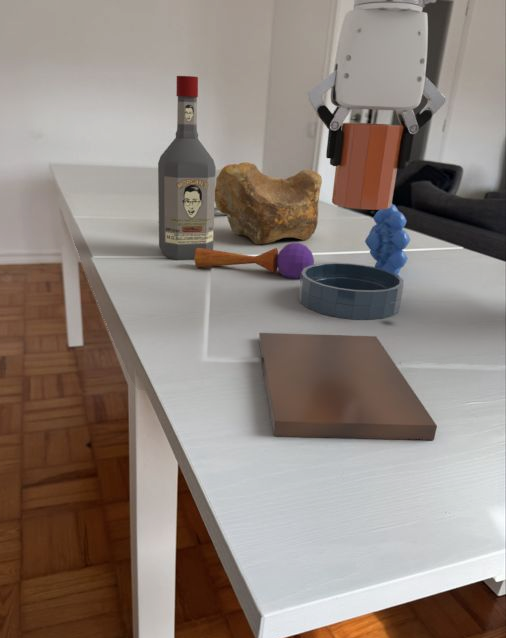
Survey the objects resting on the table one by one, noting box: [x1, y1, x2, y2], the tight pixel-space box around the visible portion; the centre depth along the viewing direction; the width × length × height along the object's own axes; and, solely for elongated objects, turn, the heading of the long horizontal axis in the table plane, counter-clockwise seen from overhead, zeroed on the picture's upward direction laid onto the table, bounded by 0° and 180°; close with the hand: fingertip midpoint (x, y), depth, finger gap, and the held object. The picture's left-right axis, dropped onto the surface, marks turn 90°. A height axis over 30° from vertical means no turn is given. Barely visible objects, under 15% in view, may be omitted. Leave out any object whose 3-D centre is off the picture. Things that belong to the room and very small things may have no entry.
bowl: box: [298, 262, 405, 321], centre depth 79 cm, size 14×14×4 cm
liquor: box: [157, 75, 217, 261], centre depth 97 cm, size 9×9×30 cm
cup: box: [331, 122, 404, 211], centre depth 68 cm, size 7×7×10 cm
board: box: [258, 332, 438, 441], centre depth 56 cm, size 14×20×2 cm
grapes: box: [364, 203, 411, 275], centre depth 93 cm, size 12×7×12 cm, turn 11°
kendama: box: [194, 242, 315, 280], centre depth 92 cm, size 6×6×20 cm
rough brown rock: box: [215, 162, 323, 245], centre depth 115 cm, size 23×17×15 cm
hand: (366, 165), depth 68 cm, fingers closed on cup, 7 cm apart
